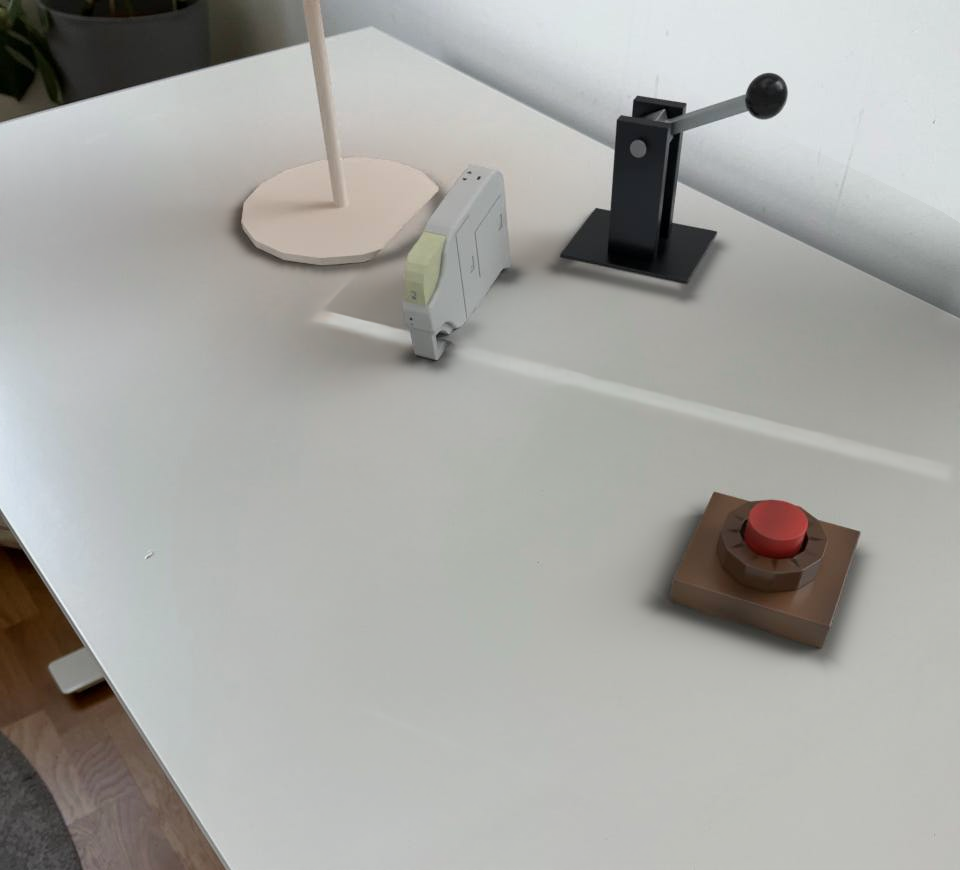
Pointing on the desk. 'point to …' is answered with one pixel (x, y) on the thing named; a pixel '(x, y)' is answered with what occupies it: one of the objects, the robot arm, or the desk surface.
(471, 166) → the grey clip-foot housing
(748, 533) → the button
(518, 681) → the desk surface
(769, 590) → the button block
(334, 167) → the desk lamp
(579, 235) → the lever bracket
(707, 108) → the tap lever
